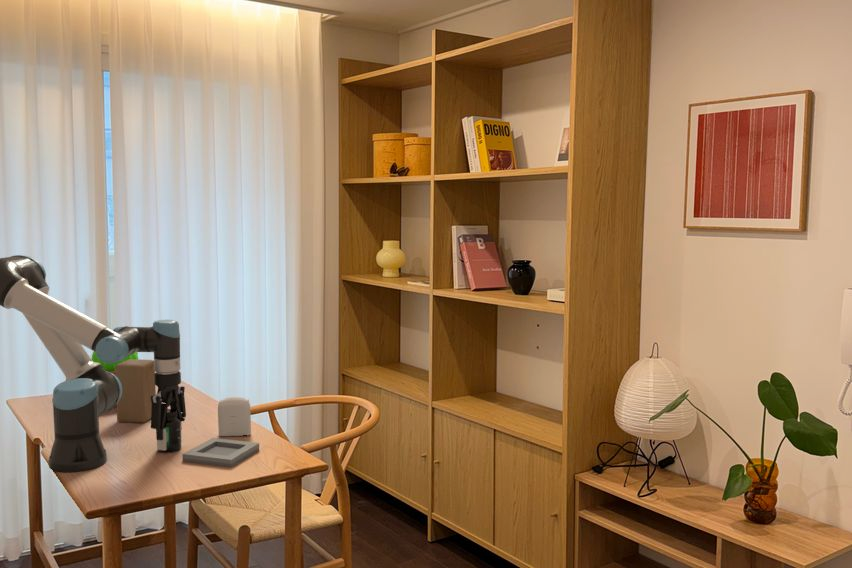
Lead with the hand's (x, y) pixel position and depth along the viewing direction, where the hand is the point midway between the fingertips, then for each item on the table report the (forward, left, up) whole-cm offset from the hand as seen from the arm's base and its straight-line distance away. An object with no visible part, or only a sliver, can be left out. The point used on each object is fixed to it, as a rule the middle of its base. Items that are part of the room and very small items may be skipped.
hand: (169, 445), depth 235 cm
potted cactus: (+41, +52, -1) cm, 66 cm away
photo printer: (+19, -11, -1) cm, 22 cm away
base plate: (0, -18, -1) cm, 18 cm away
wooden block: (+24, +30, -1) cm, 38 cm away
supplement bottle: (0, 0, -1) cm, 1 cm away
